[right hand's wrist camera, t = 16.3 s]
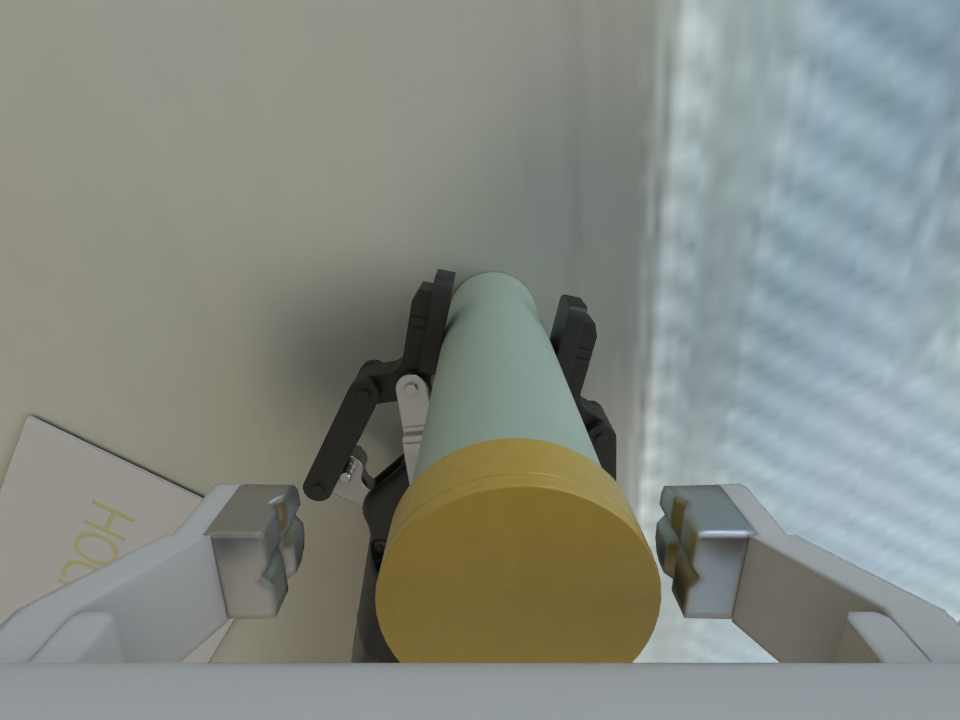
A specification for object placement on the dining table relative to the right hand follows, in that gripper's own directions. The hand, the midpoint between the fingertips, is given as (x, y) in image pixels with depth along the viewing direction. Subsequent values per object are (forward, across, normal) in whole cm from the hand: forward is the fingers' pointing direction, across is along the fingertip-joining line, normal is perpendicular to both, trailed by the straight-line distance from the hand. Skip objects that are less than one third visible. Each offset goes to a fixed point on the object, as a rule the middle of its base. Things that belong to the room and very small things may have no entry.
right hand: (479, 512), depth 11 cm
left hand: (+11, -1, -2) cm, 11 cm away
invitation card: (+17, +24, +19) cm, 35 cm away
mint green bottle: (+17, -1, 0) cm, 17 cm away
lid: (-2, -1, 0) cm, 2 cm away
